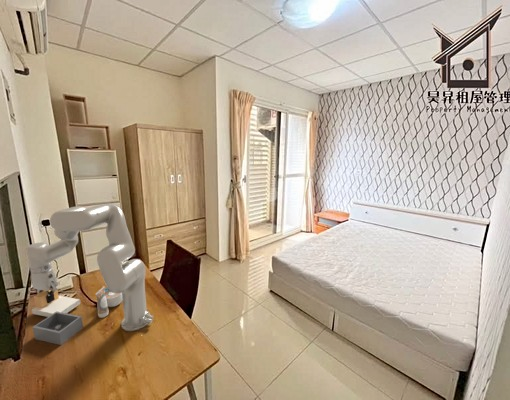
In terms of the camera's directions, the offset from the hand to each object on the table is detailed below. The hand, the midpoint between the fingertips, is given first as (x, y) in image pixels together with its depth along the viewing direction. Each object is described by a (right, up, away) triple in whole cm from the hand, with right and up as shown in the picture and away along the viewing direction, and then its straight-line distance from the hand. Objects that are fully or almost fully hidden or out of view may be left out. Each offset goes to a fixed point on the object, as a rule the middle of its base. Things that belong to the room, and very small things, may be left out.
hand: (47, 300), depth 116 cm
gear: (+19, +1, +16) cm, 25 cm away
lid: (+5, -4, 0) cm, 7 cm away
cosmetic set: (+30, -5, +7) cm, 31 cm away
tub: (+18, -9, -13) cm, 24 cm away
